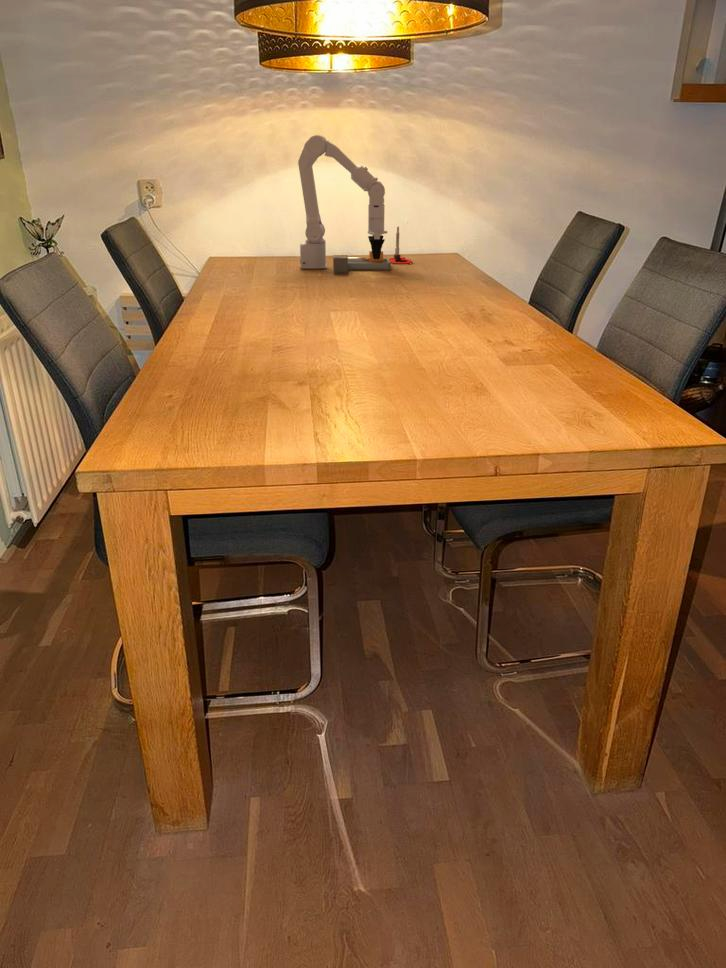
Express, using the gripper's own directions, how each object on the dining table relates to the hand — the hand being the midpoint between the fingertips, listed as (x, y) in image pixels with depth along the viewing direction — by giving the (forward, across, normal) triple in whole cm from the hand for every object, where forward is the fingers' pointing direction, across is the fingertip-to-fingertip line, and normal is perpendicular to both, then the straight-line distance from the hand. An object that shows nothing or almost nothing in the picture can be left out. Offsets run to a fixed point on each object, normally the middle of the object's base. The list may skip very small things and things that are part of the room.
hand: (376, 257), depth 270 cm
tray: (+4, 0, +5) cm, 6 cm away
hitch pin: (+3, 0, +5) cm, 6 cm away
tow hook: (+4, +12, -10) cm, 16 cm away
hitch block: (+4, -10, +13) cm, 16 cm away
